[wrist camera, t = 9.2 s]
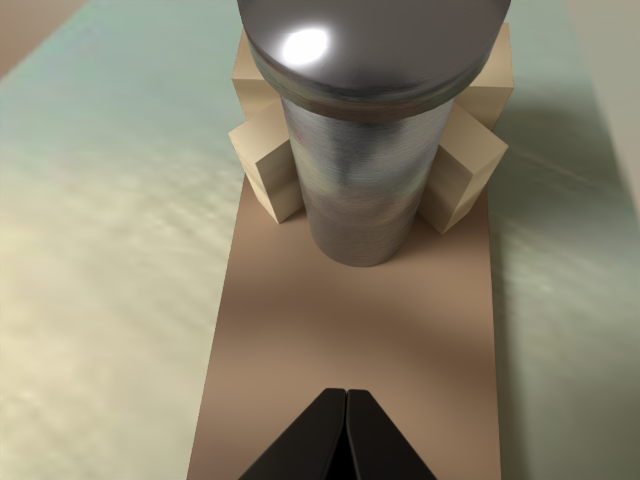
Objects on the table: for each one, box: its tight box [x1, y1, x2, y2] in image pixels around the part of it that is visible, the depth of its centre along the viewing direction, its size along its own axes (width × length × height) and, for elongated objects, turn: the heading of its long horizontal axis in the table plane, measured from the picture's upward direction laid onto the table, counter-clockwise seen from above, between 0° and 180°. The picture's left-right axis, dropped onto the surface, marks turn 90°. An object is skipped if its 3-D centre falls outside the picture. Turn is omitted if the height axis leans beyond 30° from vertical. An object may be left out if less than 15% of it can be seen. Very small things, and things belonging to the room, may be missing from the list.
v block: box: [228, 23, 514, 235], centre depth 17 cm, size 6×10×5 cm, turn 84°
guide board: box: [186, 172, 501, 480], centre depth 17 cm, size 23×11×1 cm, turn 174°
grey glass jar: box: [237, 0, 511, 267], centre depth 13 cm, size 5×5×11 cm
